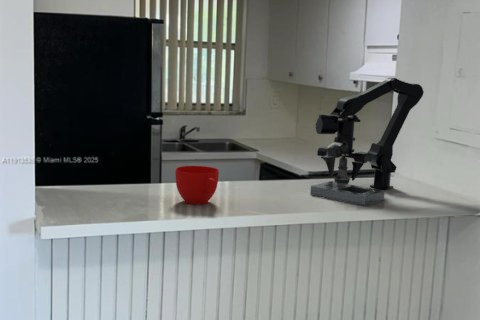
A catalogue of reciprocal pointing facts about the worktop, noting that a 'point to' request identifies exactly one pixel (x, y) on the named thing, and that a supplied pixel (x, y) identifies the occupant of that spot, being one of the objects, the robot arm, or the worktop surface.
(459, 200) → the worktop surface
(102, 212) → the worktop surface
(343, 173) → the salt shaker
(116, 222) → the worktop surface
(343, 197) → the grey flat block
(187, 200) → the ceramic cup
